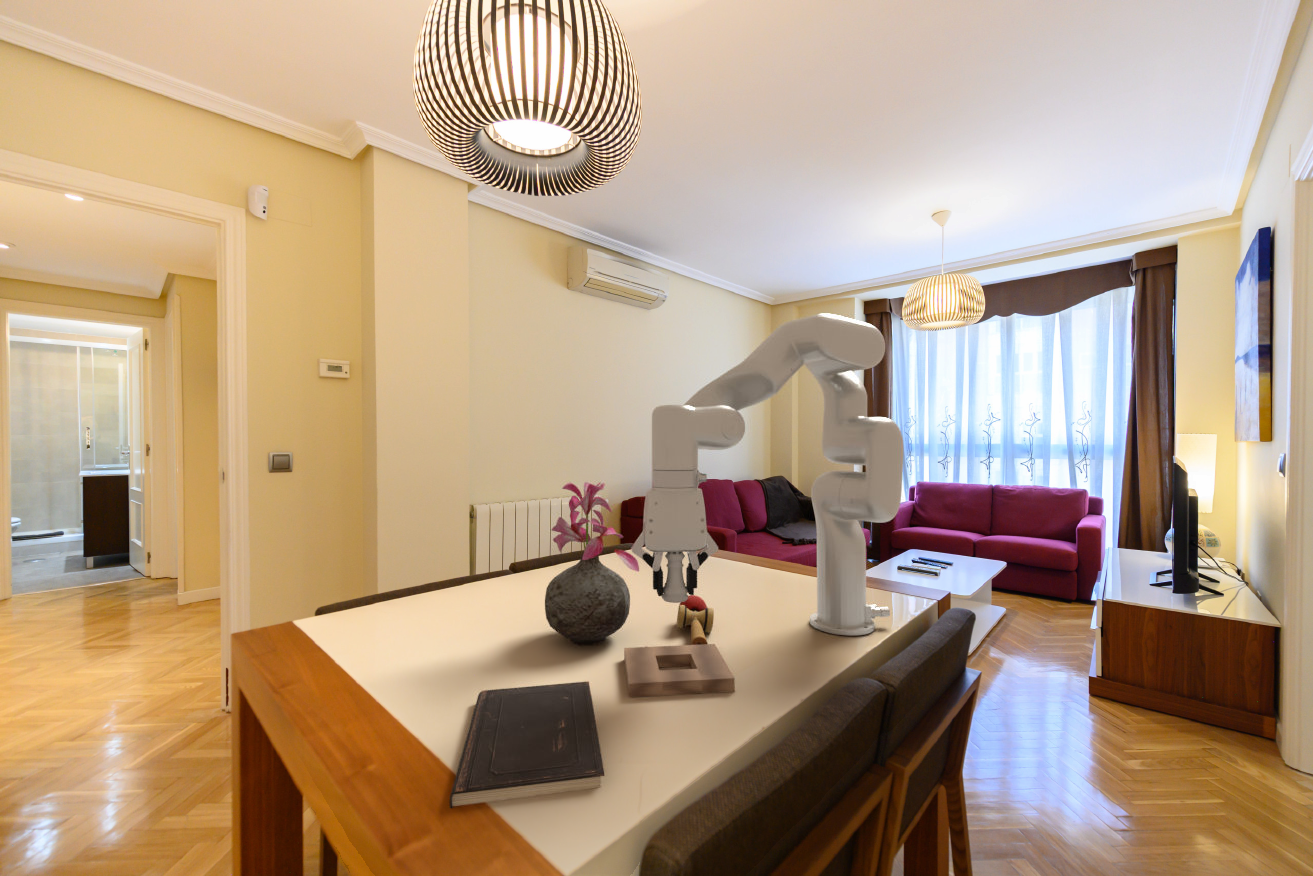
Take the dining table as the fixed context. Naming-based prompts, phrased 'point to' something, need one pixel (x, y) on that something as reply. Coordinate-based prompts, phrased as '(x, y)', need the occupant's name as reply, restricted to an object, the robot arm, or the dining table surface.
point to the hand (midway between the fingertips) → (674, 592)
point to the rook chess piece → (675, 579)
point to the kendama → (696, 618)
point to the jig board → (702, 678)
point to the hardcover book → (529, 744)
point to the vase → (587, 578)
